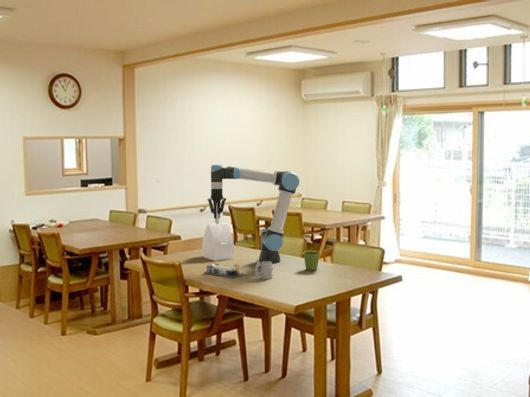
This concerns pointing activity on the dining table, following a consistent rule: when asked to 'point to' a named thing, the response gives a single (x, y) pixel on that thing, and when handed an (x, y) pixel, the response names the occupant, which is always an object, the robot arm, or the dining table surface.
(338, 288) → the dining table surface
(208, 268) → the base
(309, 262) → the plant pot
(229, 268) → the white flat bar
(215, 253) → the white box
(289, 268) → the dining table surface
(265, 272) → the mug
